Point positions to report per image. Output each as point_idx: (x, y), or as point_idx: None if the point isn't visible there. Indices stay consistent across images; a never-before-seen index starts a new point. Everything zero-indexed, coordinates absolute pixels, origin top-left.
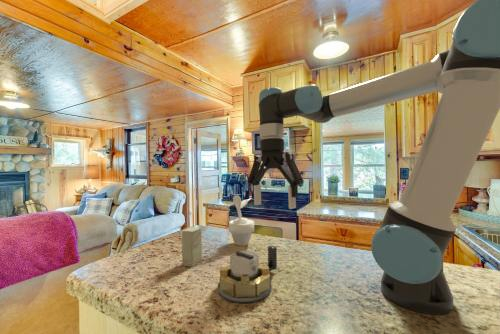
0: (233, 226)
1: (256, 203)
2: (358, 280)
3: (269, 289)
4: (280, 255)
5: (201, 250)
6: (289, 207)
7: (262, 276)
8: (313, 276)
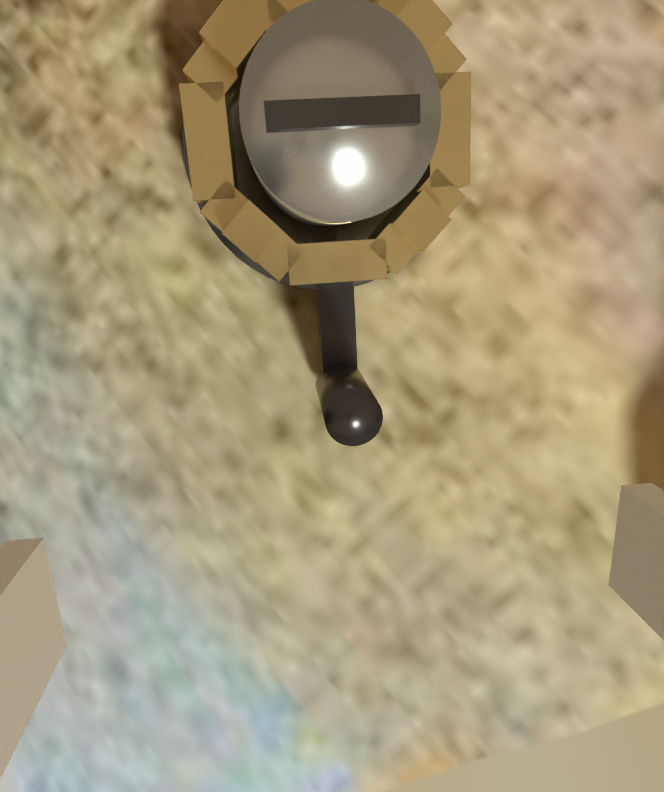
0: None
1: (634, 507)
2: None
3: (202, 204)
4: (434, 554)
5: None
6: (22, 550)
7: (222, 175)
8: (168, 482)
